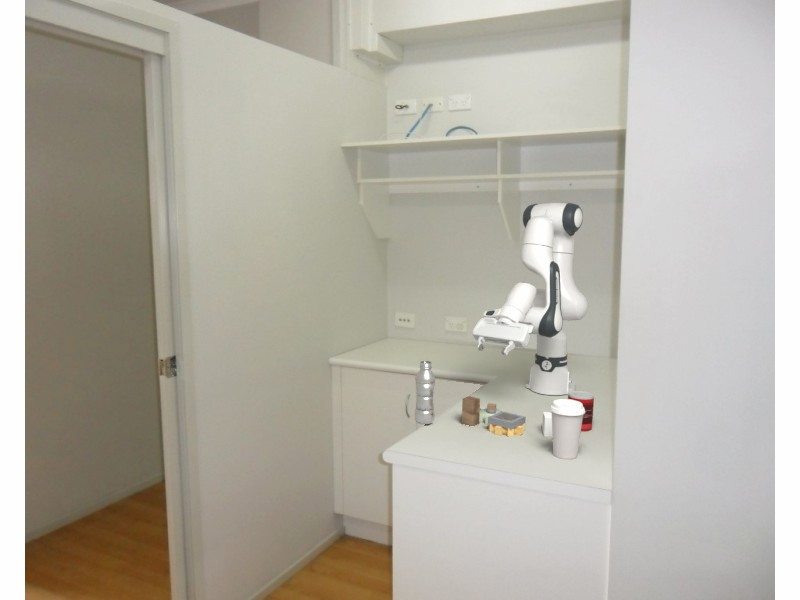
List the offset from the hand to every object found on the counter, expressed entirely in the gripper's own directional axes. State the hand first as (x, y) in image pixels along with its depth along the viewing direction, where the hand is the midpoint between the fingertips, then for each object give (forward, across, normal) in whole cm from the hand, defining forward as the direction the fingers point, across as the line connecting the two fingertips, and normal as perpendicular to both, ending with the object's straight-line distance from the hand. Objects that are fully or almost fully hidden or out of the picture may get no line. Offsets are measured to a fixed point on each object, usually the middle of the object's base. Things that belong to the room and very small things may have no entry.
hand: (491, 351), depth 208 cm
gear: (+17, -2, -14) cm, 22 cm away
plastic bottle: (+30, +11, -2) cm, 32 cm away
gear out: (+21, -12, -10) cm, 26 cm away
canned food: (+8, -27, -23) cm, 37 cm away
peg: (+23, 0, -9) cm, 25 cm away
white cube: (+16, -24, -16) cm, 33 cm away
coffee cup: (+26, -35, -6) cm, 44 cm away
